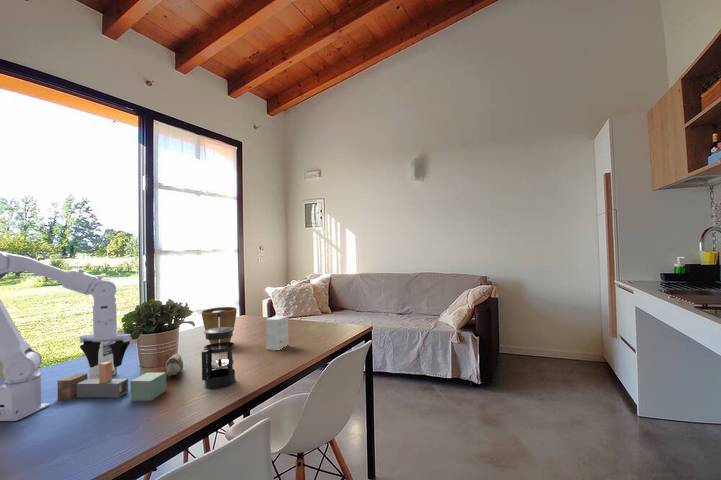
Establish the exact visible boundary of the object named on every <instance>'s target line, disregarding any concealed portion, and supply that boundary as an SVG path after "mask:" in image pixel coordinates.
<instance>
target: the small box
mask: <svg viewBox="0 0 721 480" xmlns="http://www.w3.org/2000/svg"><path fill="white" fill-rule="evenodd" d="M264 321H265V342H266V345H265V347H266V350H267V349H273V350H272V351H275V350H279V351H281V350H283V349H284V348H283V347H285V346H287V345H289V343H290V342H289V341H290V340H289V339H290V338H289V317H288V316H287V315H273V316H272V317H269V318H266V319H265V320H264ZM287 347H288V346H287ZM282 348H283V349H282ZM285 348H286V347H285ZM280 349H281V350H280Z"/></svg>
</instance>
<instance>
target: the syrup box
mask: <svg viewBox="0 0 721 480" xmlns="http://www.w3.org/2000/svg"><path fill="white" fill-rule="evenodd" d="M113 343H116V342H101V344H100V347H99V353H98V365H97V366H94V367H90V365H89V364H88V379H99V364H101V363H103V362H112V376H114V375H117V373H118V367H114V363H113V353H112V350H111V347H110V344H113Z"/></svg>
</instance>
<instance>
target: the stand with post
mask: <svg viewBox="0 0 721 480" xmlns="http://www.w3.org/2000/svg"><path fill="white" fill-rule="evenodd" d="M122 383H123V391H121V392H120V389H119V385H120V384H122ZM76 390H77V397H76V398H108V399H109V398H111V399H112V398H120V397H122V396H123V395H125V394H128V393H129V378H113V375H112V362H103V363H101V364H99V379H89V378H88V379H86V380H84V381H82V382H79V383H77V384H76Z"/></svg>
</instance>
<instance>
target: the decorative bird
mask: <svg viewBox="0 0 721 480" xmlns="http://www.w3.org/2000/svg"><path fill="white" fill-rule="evenodd" d="M164 369H165V371H166V383H168V382H169V381H170V382H171V378H169V375H170V376H175V375H176V376H175V377H174V379H173V380H176V381H178V379H179V380H181V378H180V376H178V375H179V372H181V371H182V370H183V369H184V361H183V359H182V355H181V354H179V353H174V354H173V355H172V356H170V357H169V358H168V359H167V360H166V362H165V366H164Z"/></svg>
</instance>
